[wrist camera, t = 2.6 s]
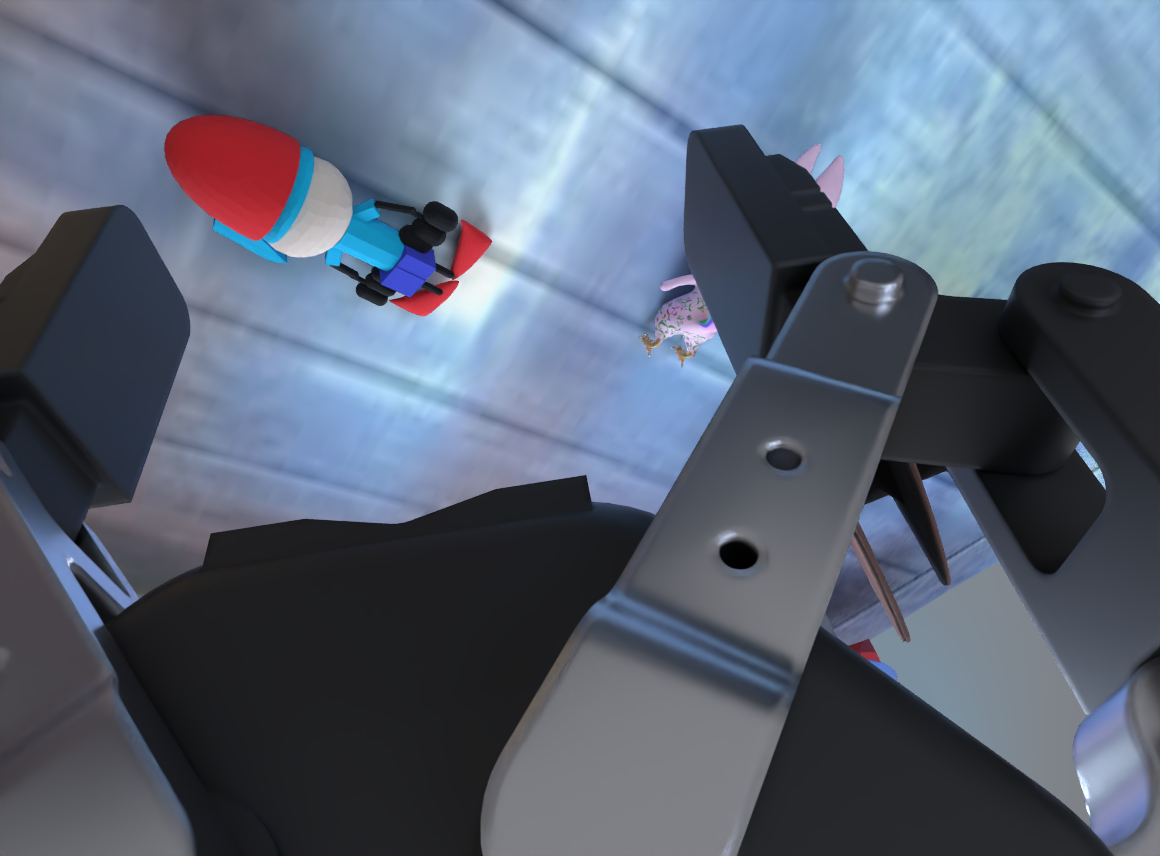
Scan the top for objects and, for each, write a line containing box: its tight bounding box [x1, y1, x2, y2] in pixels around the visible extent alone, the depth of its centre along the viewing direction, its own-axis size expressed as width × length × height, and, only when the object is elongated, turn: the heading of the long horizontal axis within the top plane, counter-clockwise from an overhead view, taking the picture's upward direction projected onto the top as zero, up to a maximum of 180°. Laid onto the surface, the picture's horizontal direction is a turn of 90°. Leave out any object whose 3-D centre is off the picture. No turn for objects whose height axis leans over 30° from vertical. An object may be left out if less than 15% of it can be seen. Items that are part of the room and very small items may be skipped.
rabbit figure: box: [639, 144, 844, 368], centre depth 40 cm, size 6×6×15 cm
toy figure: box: [164, 115, 492, 316], centre depth 35 cm, size 8×5×15 cm
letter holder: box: [850, 459, 979, 642], centre depth 49 cm, size 10×20×14 cm, turn 29°
